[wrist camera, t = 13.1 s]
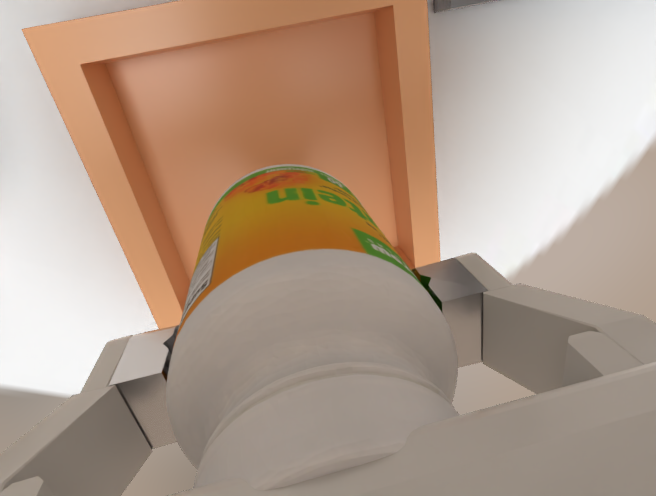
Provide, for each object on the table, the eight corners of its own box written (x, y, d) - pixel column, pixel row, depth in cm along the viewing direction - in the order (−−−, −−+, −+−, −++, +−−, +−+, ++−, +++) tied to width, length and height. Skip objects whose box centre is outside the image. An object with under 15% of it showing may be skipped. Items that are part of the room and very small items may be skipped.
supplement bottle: (390, 192, 13) (651, 438, 5) (330, 321, 15) (438, 669, 7) (232, 134, 12) (185, 352, 3) (185, 287, 14) (73, 695, 5)
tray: (65, 34, 19) (21, 28, 15) (393, -26, 20) (425, -44, 16) (180, 310, 26) (169, 351, 22) (416, 254, 27) (441, 284, 23)
